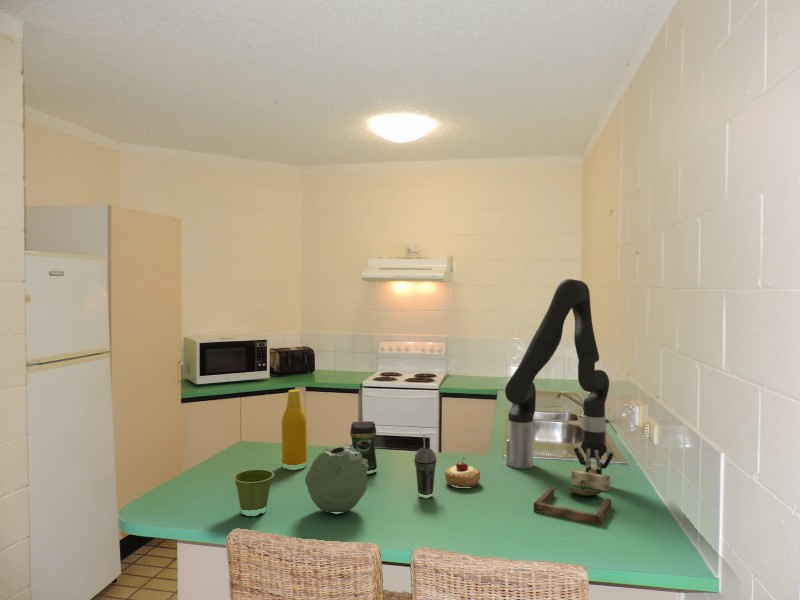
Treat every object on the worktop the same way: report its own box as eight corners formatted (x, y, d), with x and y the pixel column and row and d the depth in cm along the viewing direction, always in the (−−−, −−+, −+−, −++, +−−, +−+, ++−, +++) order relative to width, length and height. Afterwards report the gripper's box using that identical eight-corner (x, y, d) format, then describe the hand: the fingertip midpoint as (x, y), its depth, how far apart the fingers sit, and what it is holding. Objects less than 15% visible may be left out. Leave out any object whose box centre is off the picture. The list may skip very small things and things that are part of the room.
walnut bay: (533, 511, 162) (533, 503, 162) (549, 495, 175) (549, 487, 175) (599, 525, 152) (599, 517, 152) (611, 507, 165) (611, 499, 165)
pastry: (441, 489, 182) (440, 463, 182) (450, 477, 193) (449, 452, 193) (476, 492, 178) (475, 465, 178) (483, 480, 189) (482, 454, 189)
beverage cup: (440, 493, 177) (439, 432, 177) (431, 501, 170) (431, 438, 170) (419, 490, 180) (419, 430, 180) (410, 498, 173) (410, 435, 173)
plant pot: (239, 524, 154) (239, 484, 154) (228, 510, 164) (228, 473, 164) (279, 515, 160) (279, 477, 160) (267, 502, 170) (266, 466, 170)
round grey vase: (306, 503, 169) (306, 439, 169) (367, 500, 171) (366, 437, 171) (304, 525, 153) (303, 454, 153) (370, 521, 156) (370, 451, 155)
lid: (565, 500, 171) (565, 484, 171) (567, 489, 180) (567, 474, 180) (601, 504, 167) (601, 488, 167) (601, 493, 177) (601, 478, 177)
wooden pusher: (571, 484, 185) (571, 471, 185) (580, 473, 195) (580, 461, 195) (608, 491, 178) (608, 477, 178) (615, 479, 189) (615, 467, 188)
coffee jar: (376, 468, 203) (376, 418, 203) (377, 475, 195) (377, 424, 195) (350, 469, 202) (350, 419, 202) (350, 476, 194) (350, 424, 194)
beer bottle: (287, 462, 210) (286, 388, 210) (310, 463, 209) (309, 388, 208) (278, 470, 201) (277, 392, 201) (302, 471, 200) (302, 393, 199)
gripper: (570, 428, 187) (570, 478, 187) (613, 433, 179) (612, 485, 180) (576, 423, 193) (576, 472, 193) (617, 428, 186) (617, 479, 186)
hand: (593, 478), depth 186 cm, fingers closed on wooden pusher, 2 cm apart
